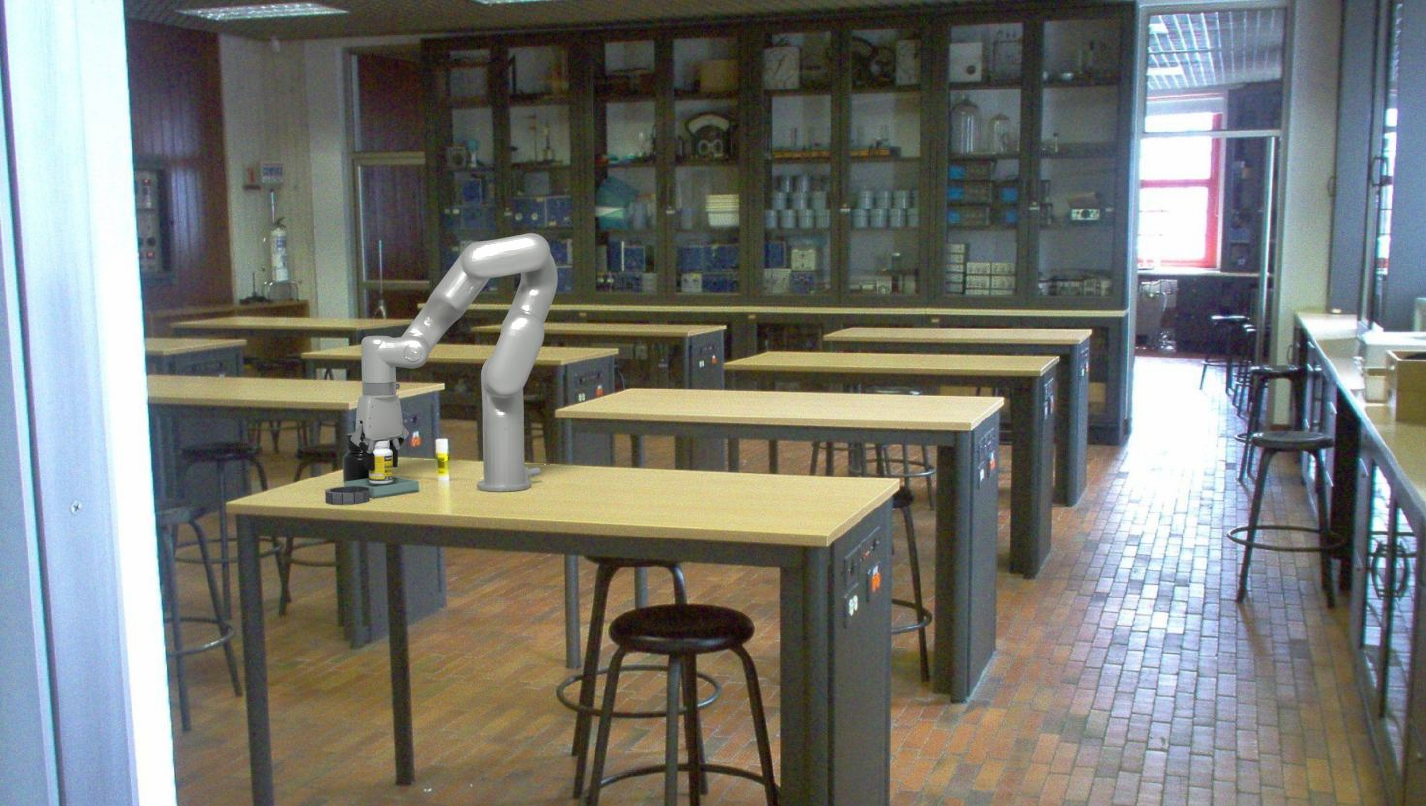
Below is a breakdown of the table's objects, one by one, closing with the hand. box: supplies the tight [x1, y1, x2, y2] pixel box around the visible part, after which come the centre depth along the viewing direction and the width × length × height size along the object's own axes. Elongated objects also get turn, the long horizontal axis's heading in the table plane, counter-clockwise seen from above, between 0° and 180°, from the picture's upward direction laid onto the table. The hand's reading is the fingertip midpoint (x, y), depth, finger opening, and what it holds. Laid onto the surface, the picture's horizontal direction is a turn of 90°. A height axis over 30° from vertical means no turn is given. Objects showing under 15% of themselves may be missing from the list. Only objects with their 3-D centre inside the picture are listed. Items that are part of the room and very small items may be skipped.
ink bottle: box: [342, 432, 369, 483], centre depth 316 cm, size 10×9×12 cm
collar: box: [324, 486, 371, 506], centre depth 293 cm, size 9×9×2 cm
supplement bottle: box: [369, 439, 394, 484], centre depth 304 cm, size 5×5×10 cm
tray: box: [343, 475, 420, 500], centre depth 305 cm, size 12×12×2 cm
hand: (381, 467), depth 304 cm, fingers closed on supplement bottle, 5 cm apart
